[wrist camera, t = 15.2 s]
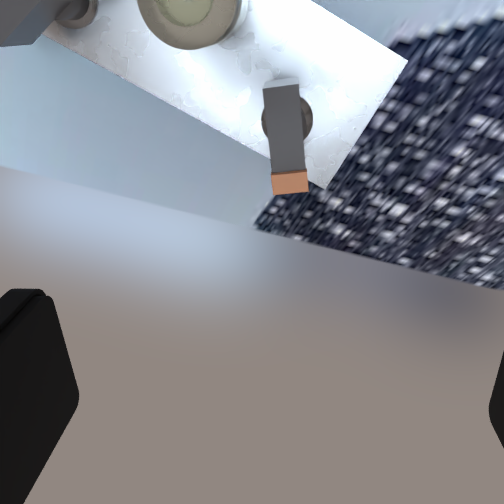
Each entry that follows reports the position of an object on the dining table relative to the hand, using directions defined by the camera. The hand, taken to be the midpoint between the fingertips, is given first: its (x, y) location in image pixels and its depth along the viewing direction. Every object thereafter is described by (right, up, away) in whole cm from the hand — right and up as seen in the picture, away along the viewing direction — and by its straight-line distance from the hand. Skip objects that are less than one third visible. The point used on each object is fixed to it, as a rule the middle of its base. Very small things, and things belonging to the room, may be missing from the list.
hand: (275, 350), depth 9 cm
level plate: (-4, +17, +21) cm, 28 cm away
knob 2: (+2, +11, +22) cm, 24 cm away
